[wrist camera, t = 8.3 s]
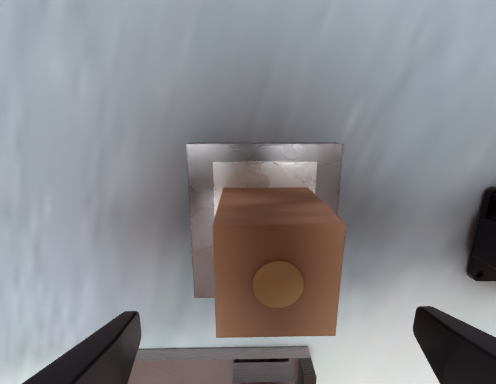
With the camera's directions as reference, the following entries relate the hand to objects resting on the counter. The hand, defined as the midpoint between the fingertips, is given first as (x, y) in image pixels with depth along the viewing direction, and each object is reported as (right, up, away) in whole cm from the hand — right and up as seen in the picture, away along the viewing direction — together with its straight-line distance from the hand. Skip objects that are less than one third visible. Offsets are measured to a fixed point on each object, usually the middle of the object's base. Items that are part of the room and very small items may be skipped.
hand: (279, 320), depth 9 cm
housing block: (0, +2, +8) cm, 8 cm away
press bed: (0, +2, +9) cm, 9 cm away
